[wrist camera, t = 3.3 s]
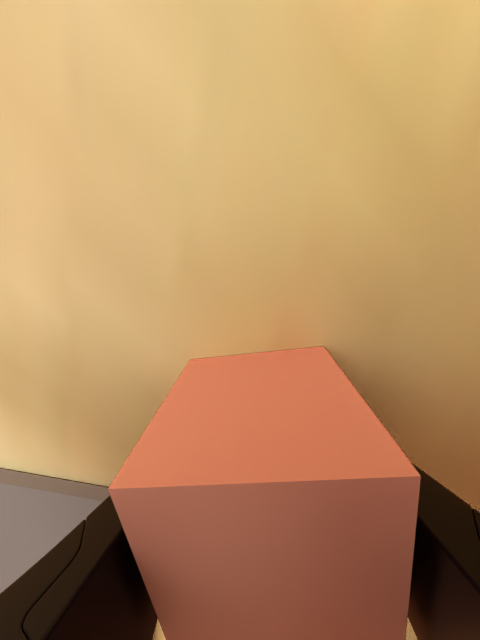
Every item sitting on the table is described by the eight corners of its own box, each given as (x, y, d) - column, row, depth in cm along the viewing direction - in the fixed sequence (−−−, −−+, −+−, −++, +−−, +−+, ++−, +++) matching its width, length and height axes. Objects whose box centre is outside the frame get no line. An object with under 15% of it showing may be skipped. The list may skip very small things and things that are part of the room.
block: (328, 456, 9) (403, 663, 5) (212, 462, 10) (171, 654, 5) (323, 346, 8) (421, 476, 3) (190, 359, 9) (107, 488, 4)
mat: (147, 696, 16) (143, 712, 16) (-38, 660, 17) (-48, 674, 16) (156, 496, 11) (151, 509, 10) (-121, 447, 11) (-142, 457, 10)
